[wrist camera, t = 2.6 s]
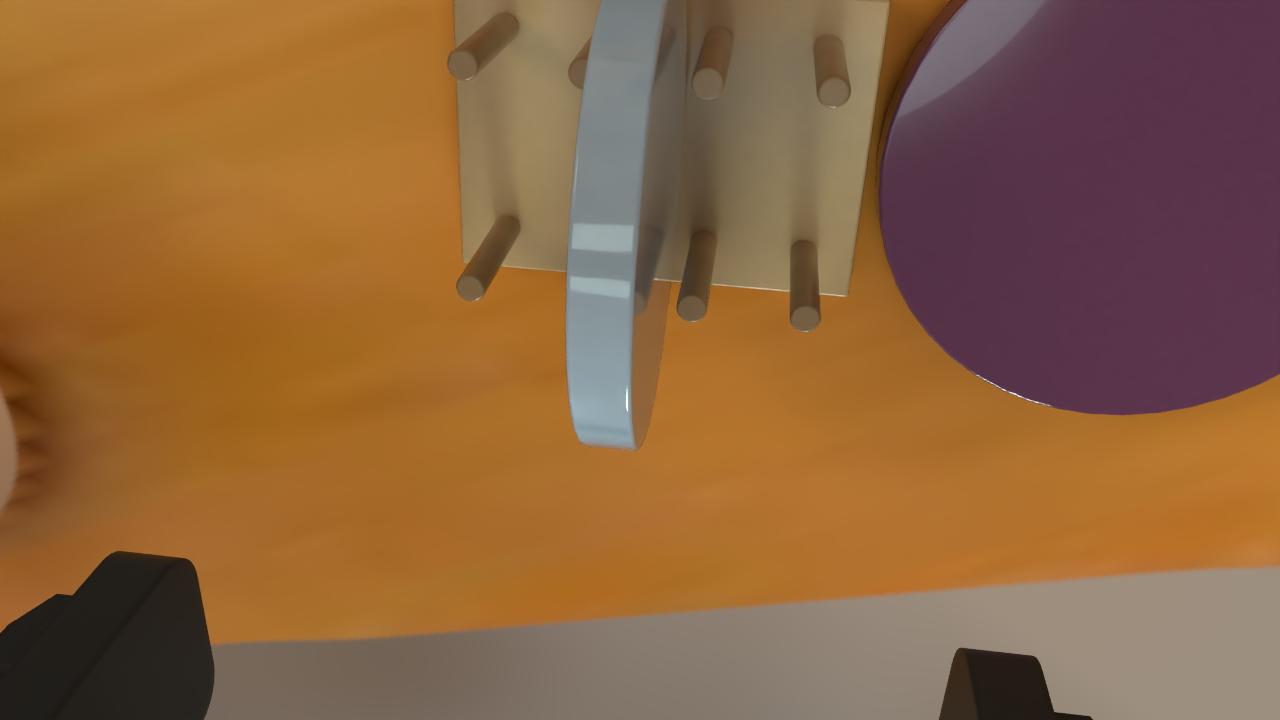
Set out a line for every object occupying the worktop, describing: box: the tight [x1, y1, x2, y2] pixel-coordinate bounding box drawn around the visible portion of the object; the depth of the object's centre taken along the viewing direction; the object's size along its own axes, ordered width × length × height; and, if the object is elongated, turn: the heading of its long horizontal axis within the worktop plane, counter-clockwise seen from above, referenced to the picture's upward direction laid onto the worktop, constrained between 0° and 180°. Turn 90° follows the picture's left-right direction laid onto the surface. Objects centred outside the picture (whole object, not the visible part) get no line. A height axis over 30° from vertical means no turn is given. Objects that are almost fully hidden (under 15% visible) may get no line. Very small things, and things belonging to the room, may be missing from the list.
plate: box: [565, 0, 687, 451], centre depth 24 cm, size 1×10×10 cm, turn 177°
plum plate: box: [876, 0, 1280, 415], centre depth 27 cm, size 13×13×1 cm
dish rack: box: [447, 0, 890, 332], centre depth 27 cm, size 10×8×5 cm
